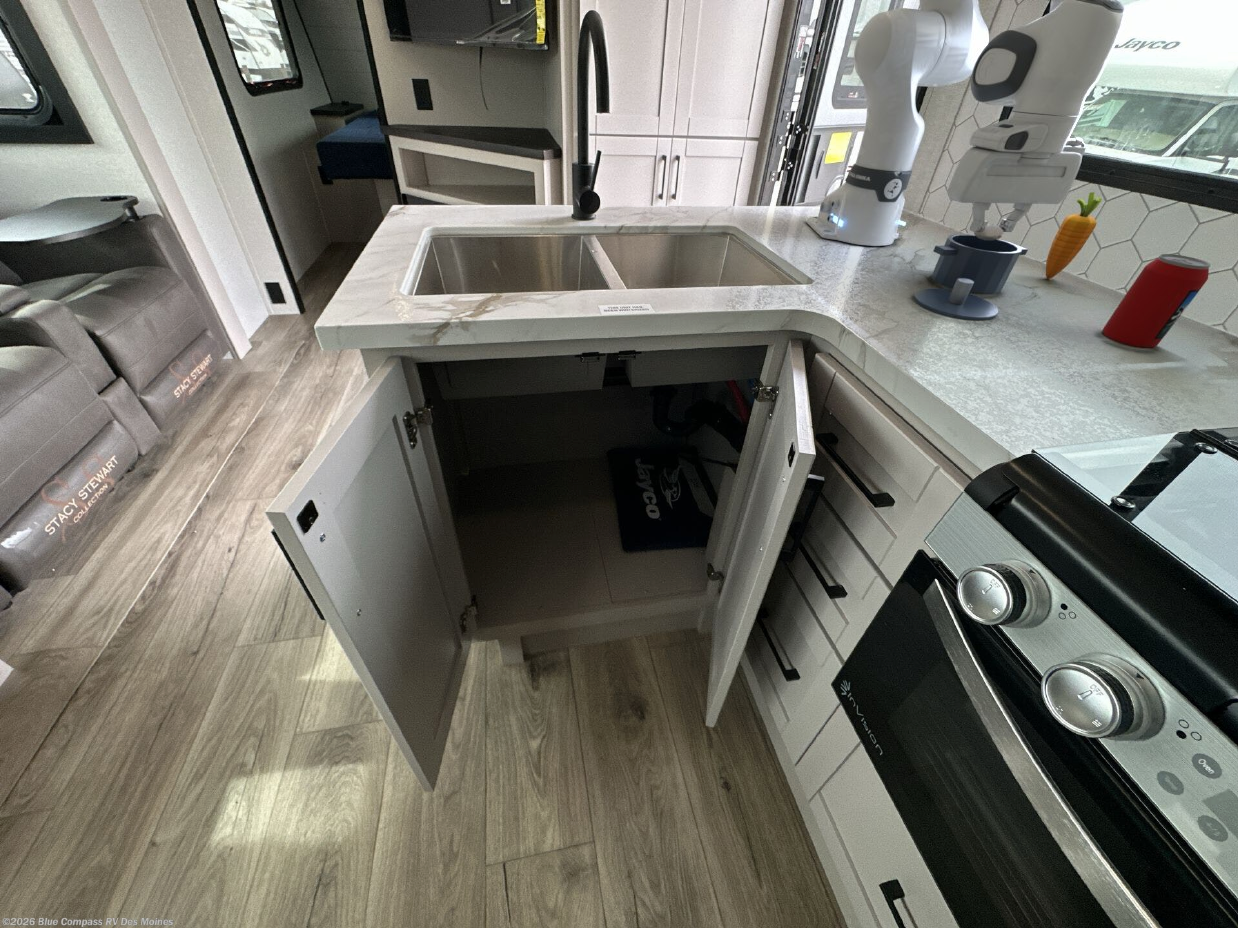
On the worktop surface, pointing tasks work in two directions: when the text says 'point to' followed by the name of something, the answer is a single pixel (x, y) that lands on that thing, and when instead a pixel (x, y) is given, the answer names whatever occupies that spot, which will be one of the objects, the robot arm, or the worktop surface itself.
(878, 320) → the worktop surface
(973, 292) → the pot
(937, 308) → the lid
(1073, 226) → the carrot
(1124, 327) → the beverage can
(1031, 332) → the worktop surface
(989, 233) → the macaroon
